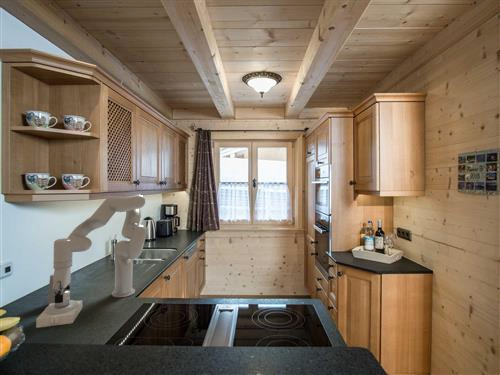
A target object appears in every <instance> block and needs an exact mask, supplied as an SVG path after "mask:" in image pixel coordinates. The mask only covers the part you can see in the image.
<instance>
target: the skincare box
mask: <svg viewBox="0 0 500 375" xmlns="http://www.w3.org/2000/svg"><path fill="white" fill-rule="evenodd" d="M53 277H54V273H53V274H50V276H49V283H48V285H49V286H48V294H47V302H46V303H47V305H48V306H49V305H50V304H52V303H55V290H53ZM71 282H72V280H71V281H70V286H71V284H72V283H71ZM59 288H62V287H59Z"/></svg>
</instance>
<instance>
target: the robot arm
mask: <svg viewBox="0 0 500 375" xmlns="http://www.w3.org/2000/svg"><path fill="white" fill-rule="evenodd" d="M145 204H146V199H145V197H144V196H143V195H141V194H139V193H135V194H134V193H125V194H122V196H108V197H107V198H106V199H104V201H103V202H102V203H101V204H100V205H99V207H98V208H97V209H96V210H95V211H94V213H93V214H91V216H90V217H88V218H87V219H85V220H84V221H82V222H81V223H79V225H77V226H76V227H75V228H74V229H73V230H72V231H71V233H70V234H69V235H68V237H65V238H57V239H55V240H54V242H53V269H54V271H53V274H54V277H53V290H55V303H62V302H63V294H62V293H63V290H64V289H69V290H70V291H71V285H70V281H71V282H72V273H71V272H72V271H71V268H72V267H73V253H82V252H86V251H87V250H89V249H90V248H91V247H92V245H93V242H92V239H90V238H89V237H87V236H88V235H89V234H90V233H91V232H93V231H95V230H97V229H100V228H102V227H104V226H106V225H107V223H108V222H109V221H110V220H111V218H113V216H114V215H115V214H116V213H123V212H125V219H124V222H123V225H122V229H121V236H122V237H123V238H125V239H127V240H120V241H118V242H116V243H115V245H114V248H113V254H114V256H113V257H114V264H115V267H114V269H115V270H114V290H113V291H112V292H111V296H112V297H113V298H126V297H130V296H132V295H134V294H135V292H136V289H135V288H133V273H134V272H133V270H134V268H133V266H134V265H133V262H134V261H133V260H136V259H138V258H139V257H140V256H141V254H142V252H143V249H144V245H145V241H146V238H147V228H146V227H145V226H144V225H143V224H141V223H140V222H141V218H142V212H141V209H142V208H143V207H144V206H145ZM59 287H62V288H59ZM60 290H61V292H60Z"/></svg>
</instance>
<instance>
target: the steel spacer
mask: <svg viewBox="0 0 500 375" xmlns="http://www.w3.org/2000/svg"><path fill="white" fill-rule="evenodd" d="M60 292H61V290H60ZM62 294H63V302H62V303H55V308H56V309H61V308H65V307H67V306H69V305H70V300H71V297H70V296H71V289H70V290H69V289H64V290H63V293H62Z"/></svg>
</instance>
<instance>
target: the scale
mask: <svg viewBox="0 0 500 375" xmlns="http://www.w3.org/2000/svg"><path fill="white" fill-rule="evenodd" d="M82 309H83V300H81V299H80V300H74V299H70V305H69V306H67V307H65V308H61V309H56V308H55V303H52V304H50V305H48V306H46V307H45V308H44V310H43V311H42V312H41V313H40V314H39V315H38V317H36V319H35V321H36V322H35V325H36V326H35V328H45V327H46V328H47V327H55V326H62V325H67V324H68V325H69V324H73V323H74V322H75V320H76V319H77V317H78V315H79V314H80V312H81V311H82Z"/></svg>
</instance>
